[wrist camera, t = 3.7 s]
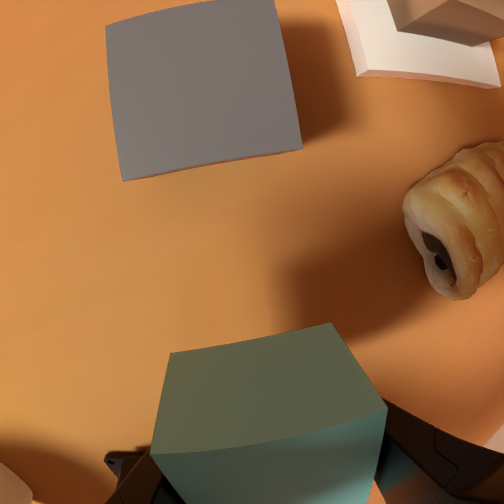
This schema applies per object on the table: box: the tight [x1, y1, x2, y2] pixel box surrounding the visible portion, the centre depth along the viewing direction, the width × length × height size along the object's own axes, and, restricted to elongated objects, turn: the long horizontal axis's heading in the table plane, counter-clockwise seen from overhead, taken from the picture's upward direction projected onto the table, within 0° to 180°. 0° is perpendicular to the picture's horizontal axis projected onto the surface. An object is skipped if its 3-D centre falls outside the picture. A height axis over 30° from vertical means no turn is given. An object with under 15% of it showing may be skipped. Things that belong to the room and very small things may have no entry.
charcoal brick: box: [106, 0, 303, 182], centre depth 9 cm, size 5×5×4 cm
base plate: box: [336, 0, 501, 89], centre depth 9 cm, size 9×9×1 cm
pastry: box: [402, 141, 504, 301], centre depth 12 cm, size 9×7×4 cm
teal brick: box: [150, 322, 388, 504], centre depth 8 cm, size 5×5×4 cm
